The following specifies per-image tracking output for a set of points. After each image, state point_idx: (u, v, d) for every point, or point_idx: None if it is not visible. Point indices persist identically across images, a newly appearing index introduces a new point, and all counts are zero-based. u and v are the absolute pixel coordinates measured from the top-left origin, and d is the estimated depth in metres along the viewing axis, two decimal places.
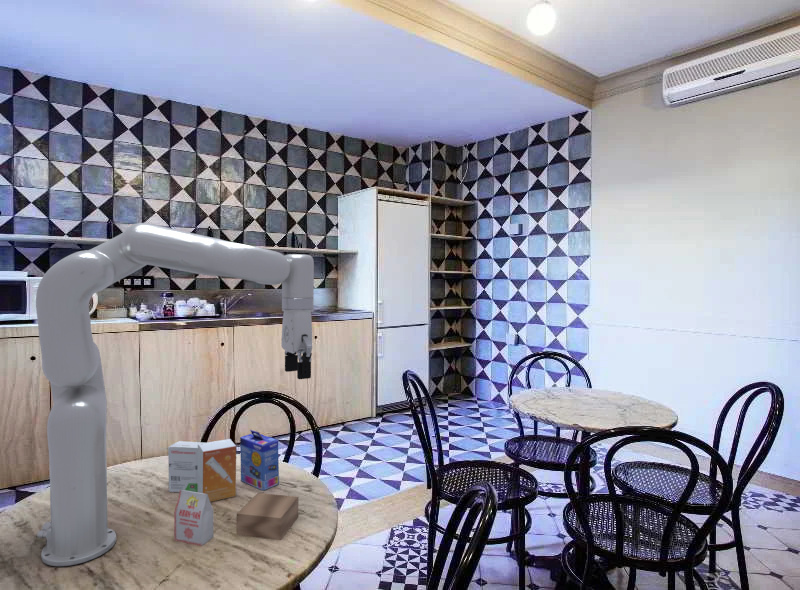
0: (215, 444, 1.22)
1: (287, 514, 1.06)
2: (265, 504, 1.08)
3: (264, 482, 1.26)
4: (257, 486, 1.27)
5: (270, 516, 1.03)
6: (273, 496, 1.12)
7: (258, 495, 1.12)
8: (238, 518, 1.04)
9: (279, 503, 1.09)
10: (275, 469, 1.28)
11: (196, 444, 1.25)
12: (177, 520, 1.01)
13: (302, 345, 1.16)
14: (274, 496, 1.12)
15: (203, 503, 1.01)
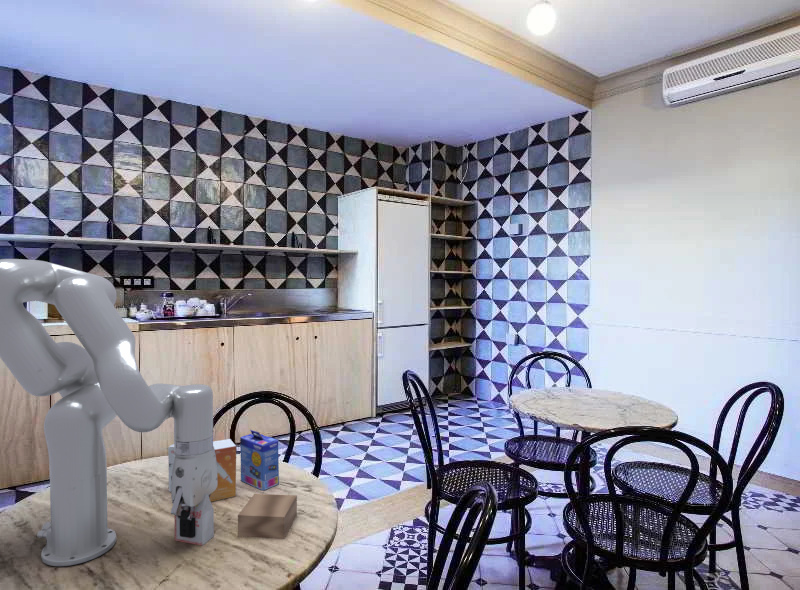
0: (215, 444, 1.22)
1: (289, 513, 1.07)
2: (265, 504, 1.08)
3: (264, 482, 1.26)
4: (257, 486, 1.27)
5: (273, 515, 1.03)
6: (271, 496, 1.12)
7: (255, 496, 1.12)
8: (239, 519, 1.03)
9: (279, 502, 1.09)
10: (275, 469, 1.28)
11: None
12: (178, 520, 1.01)
13: None
14: (272, 496, 1.12)
15: (204, 503, 1.01)
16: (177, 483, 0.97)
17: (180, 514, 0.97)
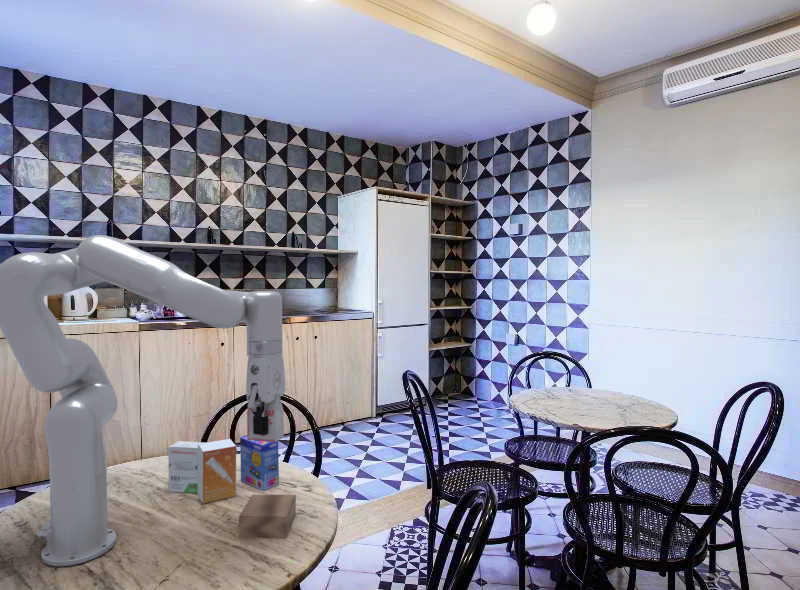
0: (215, 444, 1.22)
1: (290, 512, 1.07)
2: (265, 504, 1.08)
3: (264, 482, 1.26)
4: (257, 486, 1.27)
5: (274, 515, 1.03)
6: (270, 496, 1.12)
7: (254, 497, 1.12)
8: (241, 520, 1.03)
9: (279, 502, 1.09)
10: (275, 469, 1.28)
11: (196, 444, 1.25)
12: (250, 419, 1.06)
13: None
14: (271, 496, 1.12)
15: (276, 402, 1.05)
16: (252, 380, 1.02)
17: (256, 409, 1.01)
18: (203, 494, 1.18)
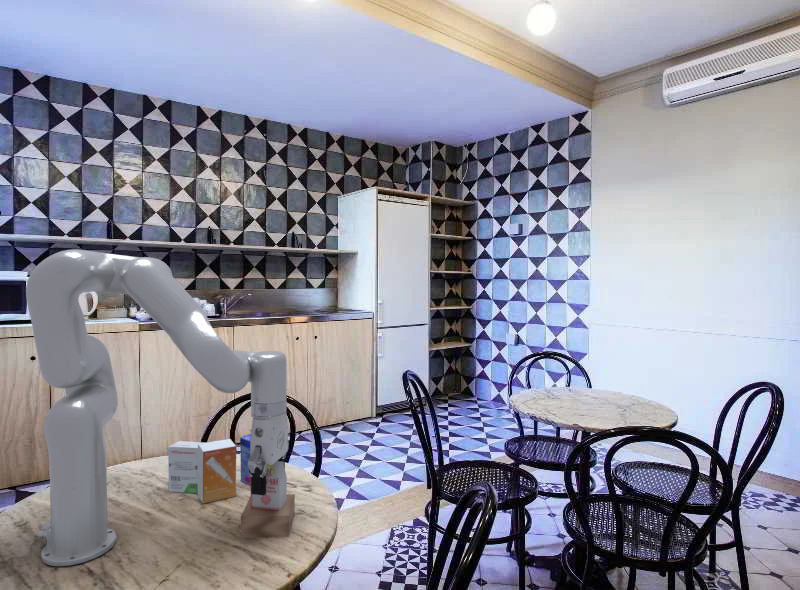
0: (215, 444, 1.22)
1: (291, 511, 1.08)
2: None
3: None
4: None
5: (277, 515, 1.04)
6: None
7: None
8: (242, 521, 1.03)
9: None
10: None
11: (196, 444, 1.25)
12: None
13: None
14: None
15: (280, 470, 1.06)
16: (256, 442, 1.03)
17: (254, 468, 1.00)
18: (203, 494, 1.18)
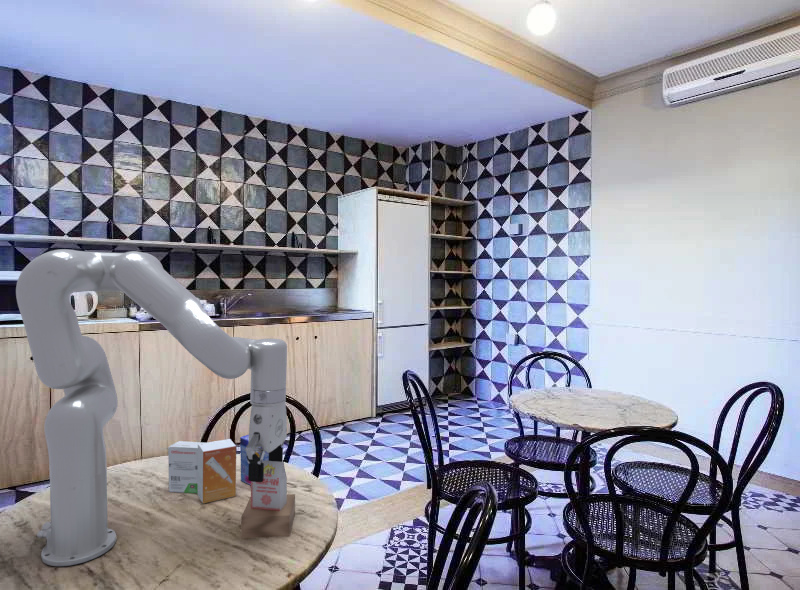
0: (215, 444, 1.22)
1: (291, 511, 1.08)
2: None
3: None
4: None
5: (277, 515, 1.04)
6: None
7: None
8: (243, 521, 1.03)
9: None
10: None
11: (196, 444, 1.25)
12: (254, 488, 1.06)
13: None
14: None
15: (280, 470, 1.07)
16: (255, 429, 1.02)
17: (252, 455, 1.00)
18: (203, 494, 1.18)
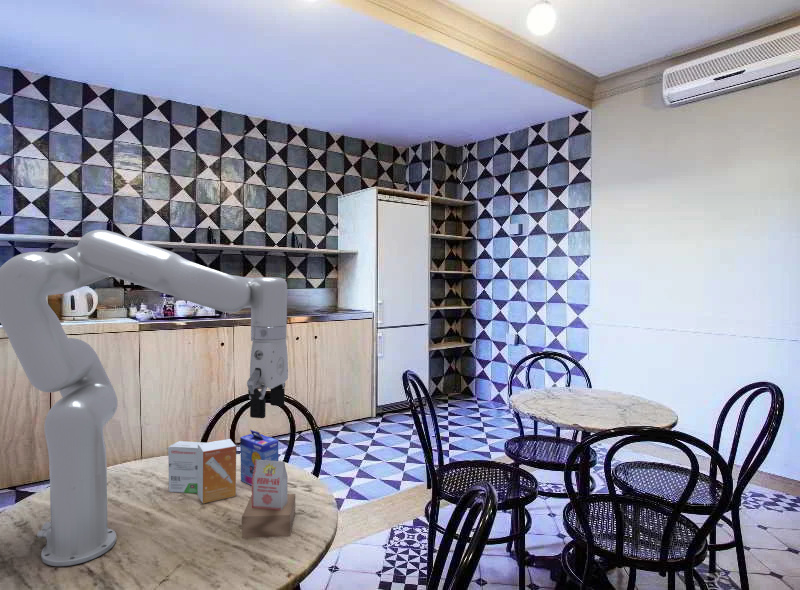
0: (215, 444, 1.22)
1: (292, 511, 1.08)
2: None
3: None
4: None
5: (278, 514, 1.04)
6: None
7: None
8: (244, 521, 1.03)
9: None
10: None
11: (196, 444, 1.25)
12: (255, 487, 1.07)
13: None
14: None
15: (281, 470, 1.07)
16: (256, 365, 1.02)
17: (254, 389, 0.99)
18: (203, 494, 1.18)
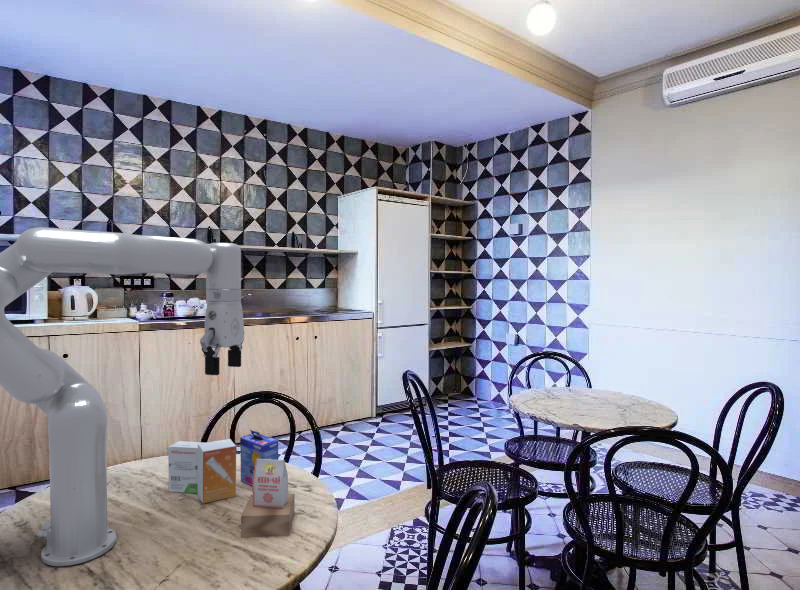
0: (215, 444, 1.22)
1: (291, 511, 1.08)
2: None
3: None
4: None
5: (277, 514, 1.04)
6: None
7: None
8: (243, 520, 1.03)
9: None
10: None
11: (196, 444, 1.25)
12: (256, 486, 1.07)
13: None
14: None
15: (281, 469, 1.07)
16: (210, 325, 1.08)
17: (207, 346, 1.05)
18: (203, 494, 1.18)
